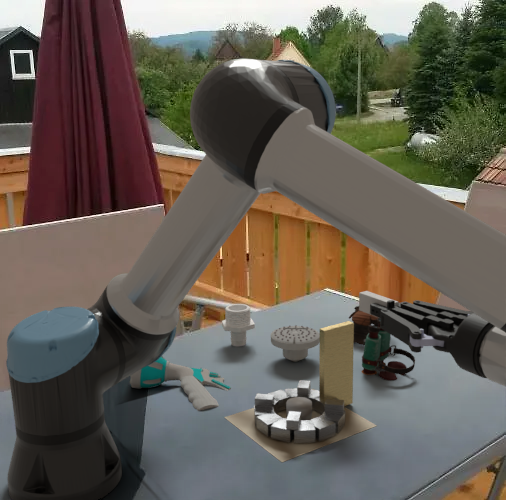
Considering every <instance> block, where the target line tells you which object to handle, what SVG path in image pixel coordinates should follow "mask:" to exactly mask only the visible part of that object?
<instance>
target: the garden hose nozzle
mask: <svg viewBox="0 0 506 500" xmlns="http://www.w3.org/2000/svg"><path fill="white" fill-rule="evenodd" d="M129 377H130V380H129V384H130V386H131V388H133V389H137V390H138V389H143V388H144V389H150V388H155V387H158V386H160V385H161V384H163V383H164V382H165V383H166V382H170V381H180V387H181V388H182V389H183V392H184V393H185V394H186V395H187V396H188V402H191V403H192V407H193V408H194V409H195V410H196V411H197V412H198V411H203V410H208V409H212V408H217V407H219V406H220V405H219V403H218V400H217V399H216V398H214V397H213V395H211V393H210V392H209V391H208V390H207V388H206V387H205V386H211V387H216V388H218V389H222V390H224V391H226V392H228V391H230V390H231V389H232V387H231V386H229V385H227V384H225V383H224V381H225V378H224V377H221V375H220V374H219V373H217V372H213V371H210V369H208V368H202V367H200V368H194V367H188V366H184V365H180V364H175V363H171V362H170V361H169V360H166V358H165V357H163V355H162V356H161V357H160V358H159V359H158V360H157V361H155V362H153V363H152V364H150V365H148V366H146V367H143V368H142V369H140V370H139V371H137V372H135V373H134V374H132V375H130V376H129ZM204 385H205V386H204Z"/></svg>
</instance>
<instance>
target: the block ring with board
mask: <svg viewBox="0 0 506 500" xmlns="http://www.w3.org/2000/svg"><path fill="white" fill-rule="evenodd" d="M319 334H320V342H319V357H318V359H319V361H318V362H319V366H318V367H319V370H318V372H319V375H318V377H319V381H318V382H319V386H318V388H319V390H318V389H315V390H313V389H314V388H311V380H302V379H301V380H300V379H299V382H298V384H297V386H296V387H297V388H296V387H295V388H285V389H278V390H275V391H271V392H269V393H256V395H255V397H254V405H253V408H254V419H255V427H256V426H257V429H258V430H259V431H261V432H262V433H263V434H265V435H266V436H267V437H269V436H271V438H272V439H276V440H280V441H285V442H289V443H290V442H291V441H292V440H293V439H294V443H310V442H315V439H316V440H318V441H322V440H325V439H327V438H330V437H332V436H335V435H336V433H337V434H338V433H339V432H340V430H341V429H342V428H343V426H344V425H345V409H344V407H347V406H348V405H352V404H353V403H354V402H353V399H354V398H353V397H354V396H353V395H354V394H353V389H354V388H353V387H354V343H353V342H354V323H353V321H350V320H348V321H347V320H346V321H344V322H340V323H336V324H332V325H329V326H324V327H322V328H319ZM294 397H304V398H307V399H309V400H311V401H312V410H316V411H317V412H319V413H321V414H322V415H321V416H320V417H317V418H314V419H311V420H301V412H295V411H289V413H288V416H287V419H285V418H282V417H280V416H279V415H277V413H278V412H280V411H283V410H286V402H287V400H288V399H290V398H294Z"/></svg>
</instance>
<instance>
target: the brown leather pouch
mask: <svg viewBox="0 0 506 500" xmlns="http://www.w3.org/2000/svg"><path fill="white" fill-rule="evenodd" d="M353 309H354V312H352V313H351V314H350V315H349V317H348V319H349V320H350V319H351V322H353V323H354V342H353V344H354V343H355V344H357V345H362V346H365V345H364V343H363V342H364V339H366V337H367V335H368V333H369V330H368V329H369V325H373V326H377V327H378V323H377V318H378V317H376V316H373V315H370V314H368V313H365V312H363V311H360V310H359V305H357V306H355V307H354V308H353Z"/></svg>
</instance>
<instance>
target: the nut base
mask: <svg viewBox="0 0 506 500" xmlns="http://www.w3.org/2000/svg"><path fill="white" fill-rule="evenodd" d="M312 389H313V390H316V389H315V388H312ZM344 409H345V425H344V426H343V428H342V429H341V430H340V432H339V433H338V434H337V433H336V435H335V436H332V437H330V438H327V439H325V440H322V441H318V440H316V439H315V442H310V443H294V439H293V440H292V441H291V442H290V443H289V442H285V441H280V440H276V439H272V438H271V436H269V437H267V436H266V435H265V434H263V433H262V432H261V431H259V430H258V429H257V426H256V427H255V419H254V407H252V408H248V409H245V410H243V411H240V412H236V413H233V414H230V415H227V416H224V417H223V418H224V419H225V420H227V421H228V422H229V423H230V424H232V425H233V426H235V428H237V429H238V430H240V431H241V432H242V433H243V434H245V435H246V436H247V437H249V439H251V440H252V441H254V442H255V443H256V444H257V445H259V446H260V447H261V448H262V449H264V450H265V451H267V452H268V453H269V454H270V455H272V456H273V457H274V458H276V459H277V460H278V461H279V462H280V463H285V462H287V461H290V460H292V459H295V458H297V457H299V456H303V455H305V454H308V453H310V452H313V451H315V450H318V449H321V448H323V447H326V446H329V445H331V444H333V443H336V442H338V441H341V440H345V439H347V438H349V437H352V436H354V435H357V434H359V433H362V432H365V431H367V430H370V429H374V428H375V427H377V426H378V425H376V424H375V423H373V422H371V421H370V420H368V419H366V418H364V417H363V416H361V415H359V414H358V413H356V412H354V411H352V410H351V409H349V408H348V407H347V406H344ZM289 411H295V412H301V420H311V419H314V418H317V417H320V416H321V415H322V414H321V413H319V412H317V411H316V410H312V401H311V400H309V399H307V398H304V397H294V398H290V399H288V400H287V402H286V410H283V411H280V412H278V413H277V415H279V416H280V417H282V418H285V419H287V416H288V413H289Z"/></svg>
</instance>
